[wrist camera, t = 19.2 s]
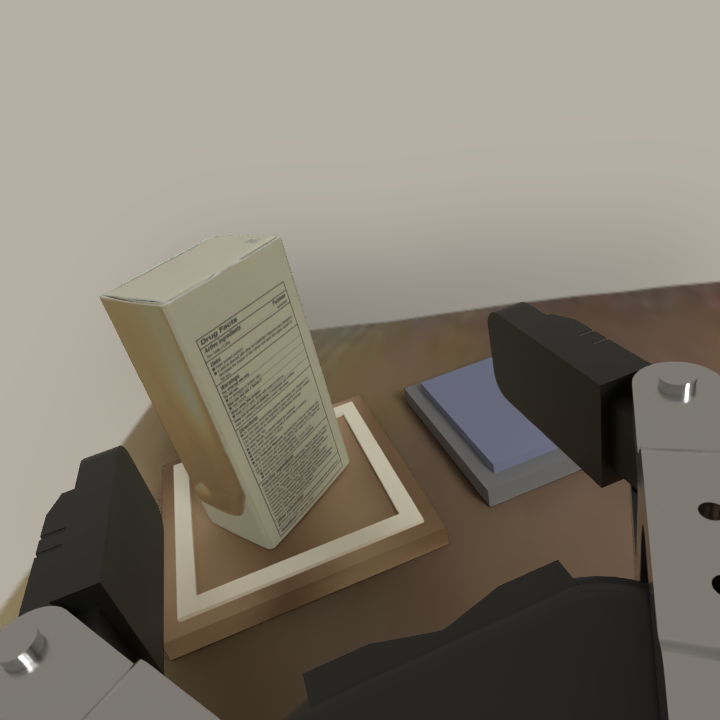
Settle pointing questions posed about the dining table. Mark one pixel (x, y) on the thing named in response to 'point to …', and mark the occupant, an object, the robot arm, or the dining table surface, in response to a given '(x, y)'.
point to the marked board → (292, 542)
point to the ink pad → (487, 433)
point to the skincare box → (234, 381)
